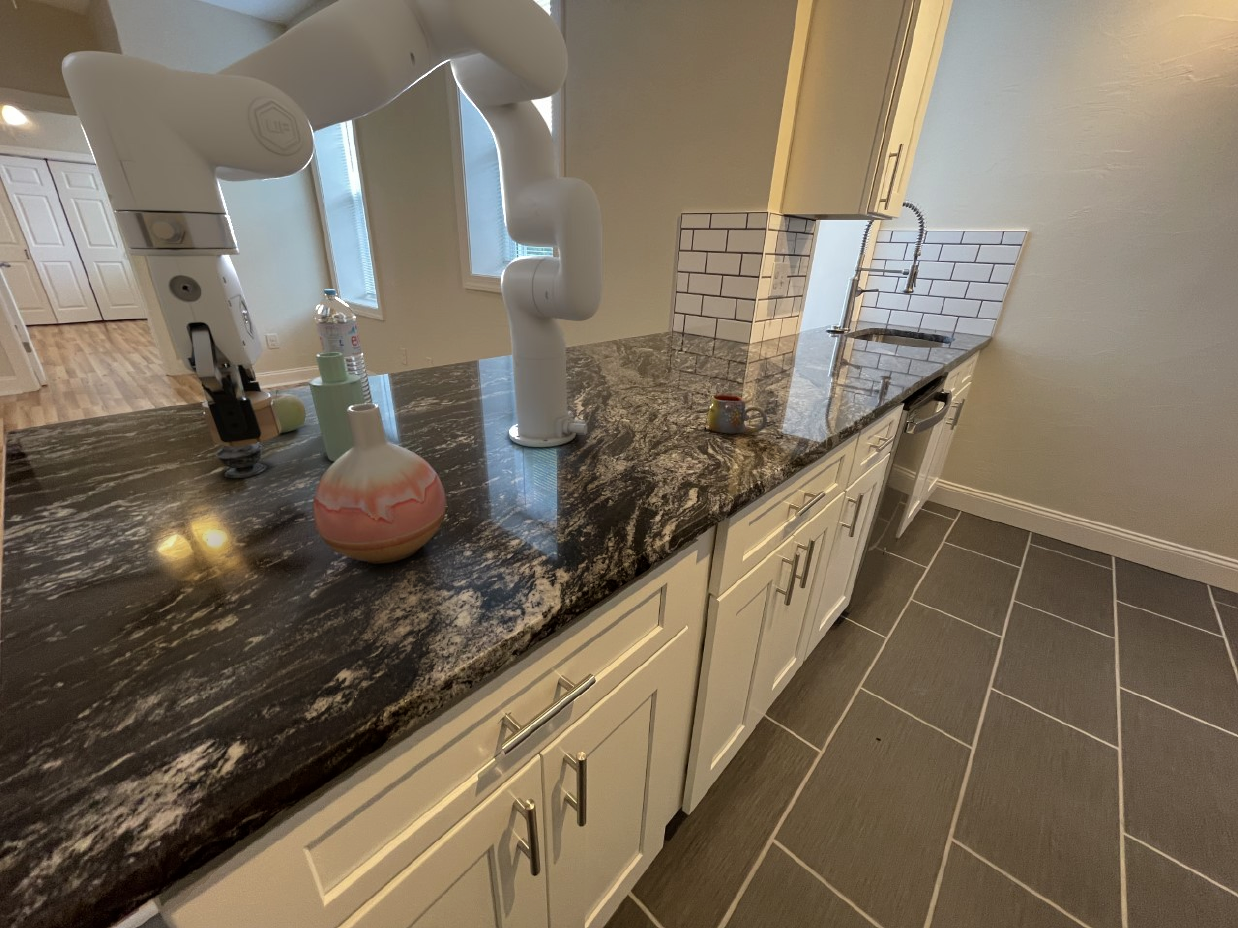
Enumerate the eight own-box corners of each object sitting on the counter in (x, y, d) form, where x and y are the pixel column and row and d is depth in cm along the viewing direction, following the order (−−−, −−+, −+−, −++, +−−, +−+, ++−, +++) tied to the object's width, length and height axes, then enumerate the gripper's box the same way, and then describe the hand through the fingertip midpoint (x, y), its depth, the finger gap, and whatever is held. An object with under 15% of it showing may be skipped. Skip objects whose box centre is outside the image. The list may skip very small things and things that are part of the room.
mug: (700, 429, 98) (703, 397, 95) (717, 420, 102) (720, 390, 100) (755, 444, 91) (760, 410, 88) (770, 434, 95) (775, 402, 93)
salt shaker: (277, 466, 78) (255, 394, 73) (240, 481, 72) (214, 405, 67) (250, 461, 79) (227, 390, 74) (213, 475, 74) (185, 400, 69)
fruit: (316, 429, 93) (305, 389, 89) (272, 440, 88) (259, 397, 84) (301, 420, 97) (290, 381, 94) (258, 430, 92) (245, 389, 89)
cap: (293, 429, 52) (283, 394, 50) (243, 449, 47) (230, 410, 46) (254, 423, 54) (243, 389, 52) (202, 442, 49) (187, 404, 47)
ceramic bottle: (384, 448, 85) (365, 352, 78) (352, 464, 79) (328, 361, 72) (351, 443, 87) (329, 348, 80) (317, 458, 81) (291, 357, 74)
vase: (358, 602, 49) (317, 441, 42) (307, 549, 57) (265, 407, 50) (474, 545, 59) (457, 407, 51) (416, 507, 67) (394, 382, 59)
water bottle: (360, 425, 96) (331, 292, 85) (330, 422, 97) (298, 290, 86) (382, 414, 102) (358, 288, 91) (354, 411, 103) (326, 287, 93)
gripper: (215, 238, 37) (282, 452, 45) (248, 237, 51) (295, 401, 59) (83, 237, 34) (180, 468, 42) (156, 236, 48) (218, 410, 55)
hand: (246, 427), depth 50 cm, fingers closed on cap, 5 cm apart
